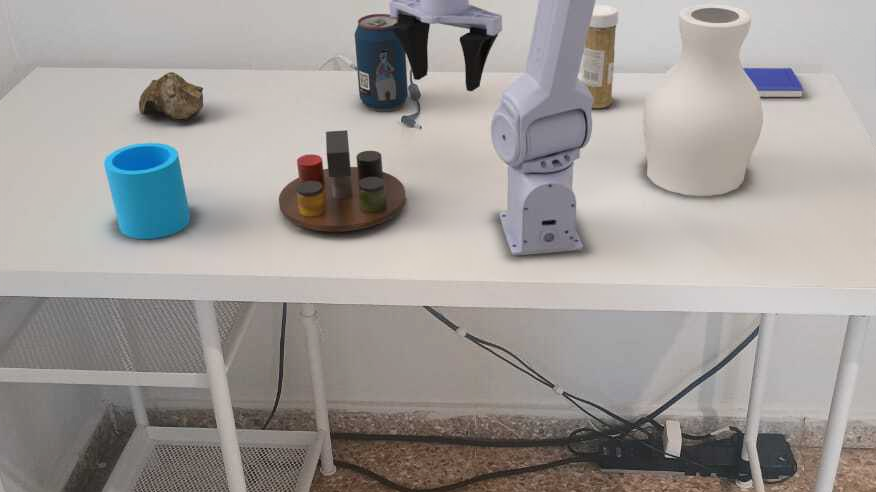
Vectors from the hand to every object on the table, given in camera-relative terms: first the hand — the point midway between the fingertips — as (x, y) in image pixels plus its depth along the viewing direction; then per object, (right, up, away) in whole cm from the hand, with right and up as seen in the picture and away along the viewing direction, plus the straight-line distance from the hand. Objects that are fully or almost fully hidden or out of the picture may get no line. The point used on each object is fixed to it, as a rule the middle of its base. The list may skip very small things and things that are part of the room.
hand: (446, 82), depth 128 cm
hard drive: (+45, +6, +24) cm, 51 cm away
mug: (-34, -17, -4) cm, 39 cm away
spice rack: (-12, -16, -4) cm, 21 cm away
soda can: (-9, +3, +22) cm, 24 cm away
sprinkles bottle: (+21, +2, +20) cm, 29 cm away
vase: (+31, -11, +2) cm, 33 cm away
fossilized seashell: (-39, 0, +20) cm, 44 cm away
